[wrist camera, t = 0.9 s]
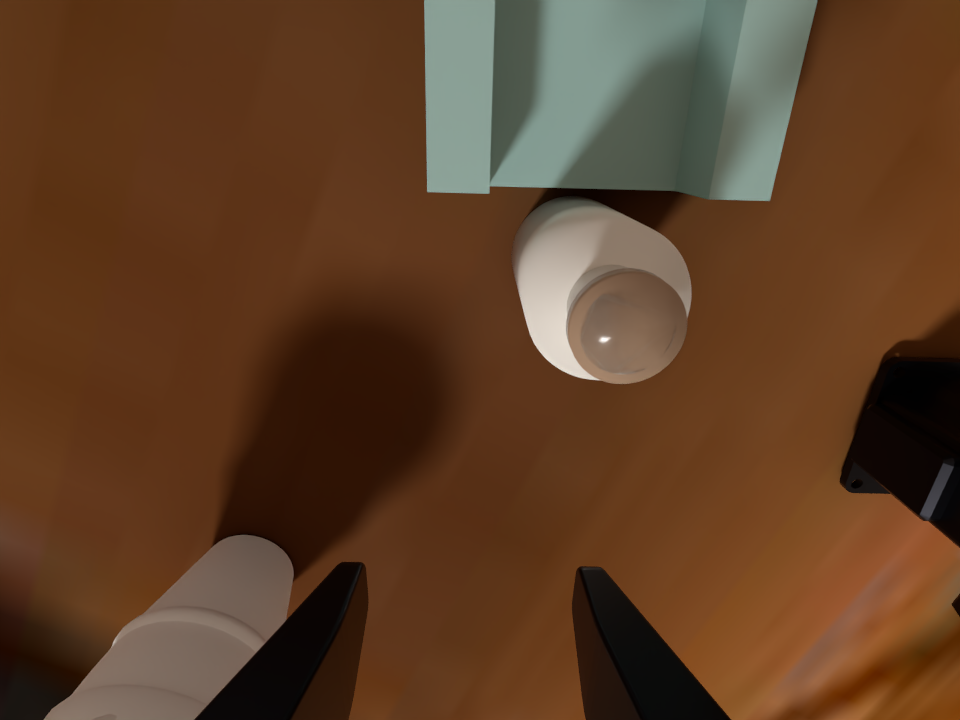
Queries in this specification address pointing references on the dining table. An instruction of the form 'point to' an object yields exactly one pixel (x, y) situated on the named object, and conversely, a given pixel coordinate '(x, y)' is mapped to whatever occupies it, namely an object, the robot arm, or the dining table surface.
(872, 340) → the dining table surface
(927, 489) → the robot arm
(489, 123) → the teal rectangular tray
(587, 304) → the bottle
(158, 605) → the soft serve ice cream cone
